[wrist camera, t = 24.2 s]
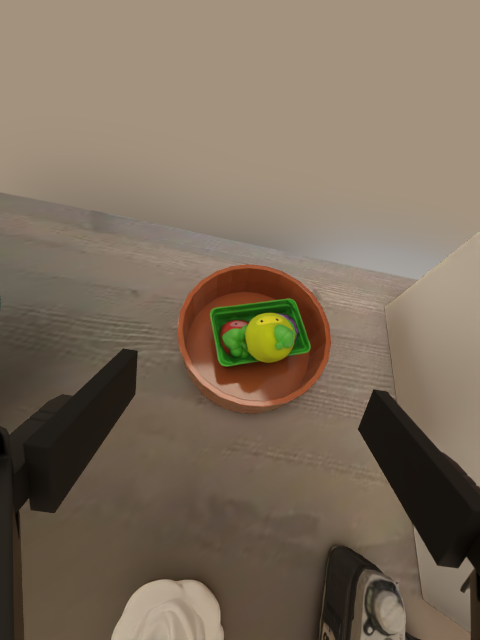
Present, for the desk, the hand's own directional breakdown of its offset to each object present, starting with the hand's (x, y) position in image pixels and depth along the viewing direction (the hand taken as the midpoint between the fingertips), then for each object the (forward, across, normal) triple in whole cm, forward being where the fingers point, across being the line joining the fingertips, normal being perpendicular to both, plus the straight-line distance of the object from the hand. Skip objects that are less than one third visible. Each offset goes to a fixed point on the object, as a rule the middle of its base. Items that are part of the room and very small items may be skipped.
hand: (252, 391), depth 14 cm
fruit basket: (+21, +2, -7) cm, 22 cm away
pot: (+21, +1, -7) cm, 22 cm away
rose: (+1, -3, -27) cm, 27 cm away
